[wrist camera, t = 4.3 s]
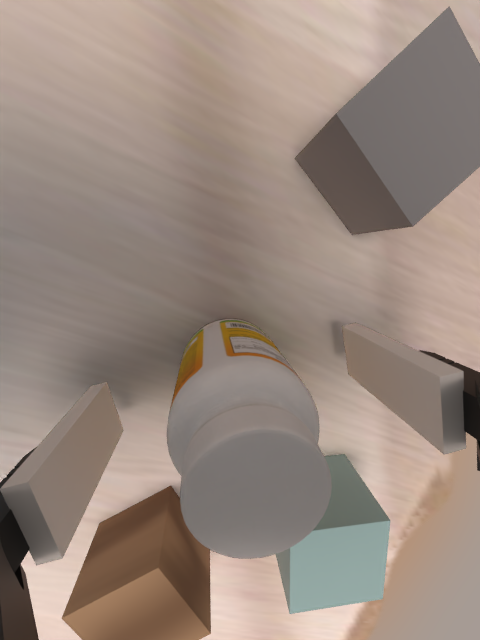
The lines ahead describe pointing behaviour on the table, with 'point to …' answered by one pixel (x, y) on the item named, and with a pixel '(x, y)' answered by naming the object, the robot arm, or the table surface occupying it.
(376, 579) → the teal cube
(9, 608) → the robot arm
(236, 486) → the supplement bottle
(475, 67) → the charcoal cube
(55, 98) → the table surface
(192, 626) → the walnut cube
